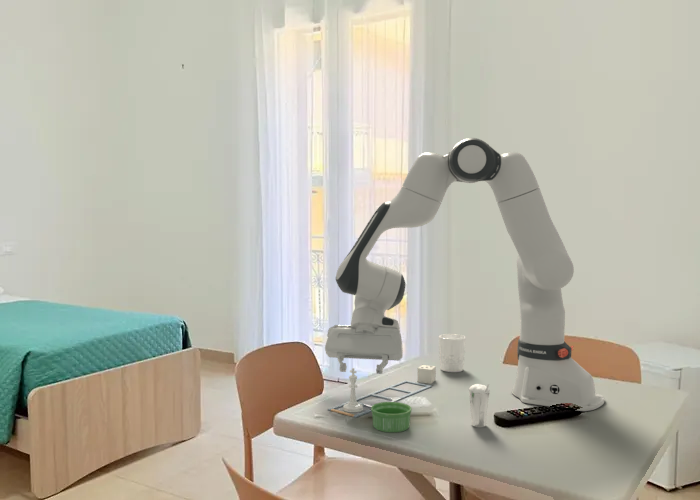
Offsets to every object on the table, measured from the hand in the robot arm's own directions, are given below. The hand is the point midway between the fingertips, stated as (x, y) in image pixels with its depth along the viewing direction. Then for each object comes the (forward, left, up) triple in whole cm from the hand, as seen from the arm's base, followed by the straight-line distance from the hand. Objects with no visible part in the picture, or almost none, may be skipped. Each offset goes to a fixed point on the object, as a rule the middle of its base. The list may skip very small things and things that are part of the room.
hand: (360, 371), depth 166 cm
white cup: (-3, -40, -7) cm, 41 cm away
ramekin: (-18, +12, -7) cm, 23 cm away
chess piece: (-4, +8, -7) cm, 11 cm away
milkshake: (-33, -1, -7) cm, 34 cm away
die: (-4, -24, -7) cm, 26 cm away
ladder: (-4, -4, -7) cm, 9 cm away
